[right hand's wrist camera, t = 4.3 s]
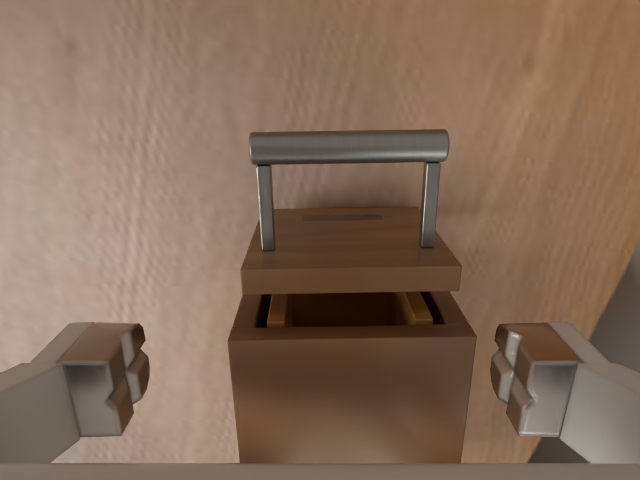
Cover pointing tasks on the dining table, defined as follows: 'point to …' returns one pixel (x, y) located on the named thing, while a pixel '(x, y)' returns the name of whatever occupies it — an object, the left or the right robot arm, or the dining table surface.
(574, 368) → the right robot arm
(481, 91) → the dining table surface
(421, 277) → the drawer
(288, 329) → the cabinet
